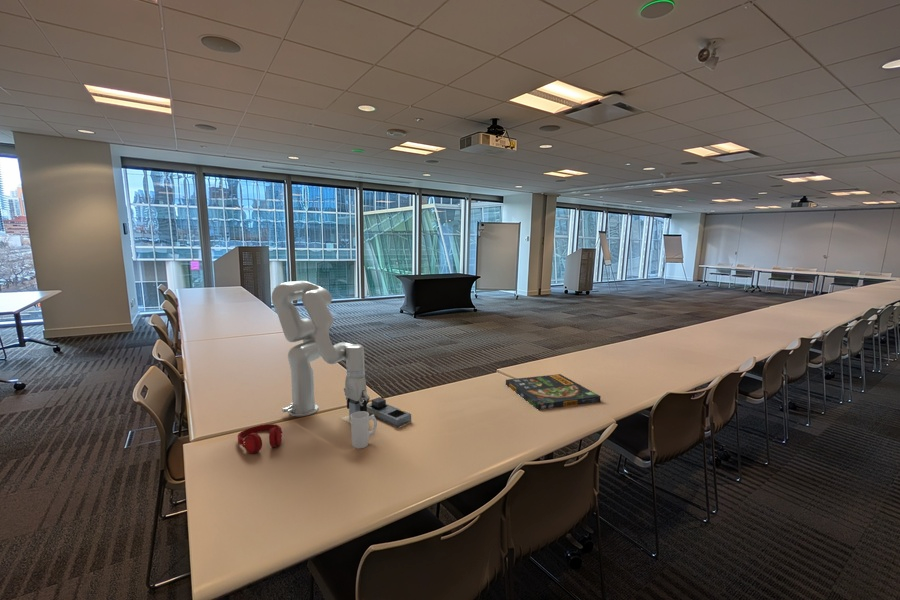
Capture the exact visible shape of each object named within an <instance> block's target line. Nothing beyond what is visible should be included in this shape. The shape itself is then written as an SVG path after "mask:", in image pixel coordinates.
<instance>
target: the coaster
mask: <svg viewBox="0 0 900 600" xmlns="http://www.w3.org/2000/svg"><path fill="white" fill-rule="evenodd" d="M340 420H342V421H345V422H347V423H348V424H350V425H351V419H350V418H349V414H348V415H346V416H343V417H341V418H340Z"/></svg>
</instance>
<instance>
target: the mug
mask: <svg viewBox="0 0 900 600" xmlns="http://www.w3.org/2000/svg"><path fill="white" fill-rule="evenodd" d="M370 420H372V421H373V427H372V429H371V430H370V427H369V426H370ZM377 422H378V421H377V418H376V417H375V416H374V414H373V415H369V413H368V412H365V411H358V412H354V413H352V414H351V424H350V431H351V447H353V448H354V449H364V448H366V447H368V446H369V444H370V441H369V438H370V437H371V436H374V435H375V432H376V429H377V426H378V423H377Z"/></svg>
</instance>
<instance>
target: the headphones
mask: <svg viewBox="0 0 900 600" xmlns="http://www.w3.org/2000/svg"><path fill="white" fill-rule="evenodd" d="M260 432H269V435H268V442H269V445H270V447H271V448H276V447H277V446H281V443H282V437H283V436H282V434H283V430H282V427H281V426H280V425H278V424H275V423H274V424H273V423H271V424H270V423H269V424H267V423H266V424H261V425H256V426H252V427H248V428H246V429H244V430H242V431H241V432H239V433H238V434H237V442H238V444H239V446H242V447H243V448H244V449H245V451H247V453H249V454H255V453H256V454H257V453H258V452H260V451H261V450H262V448H263V439H262V437H261V435H260V434H259V433H260Z"/></svg>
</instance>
